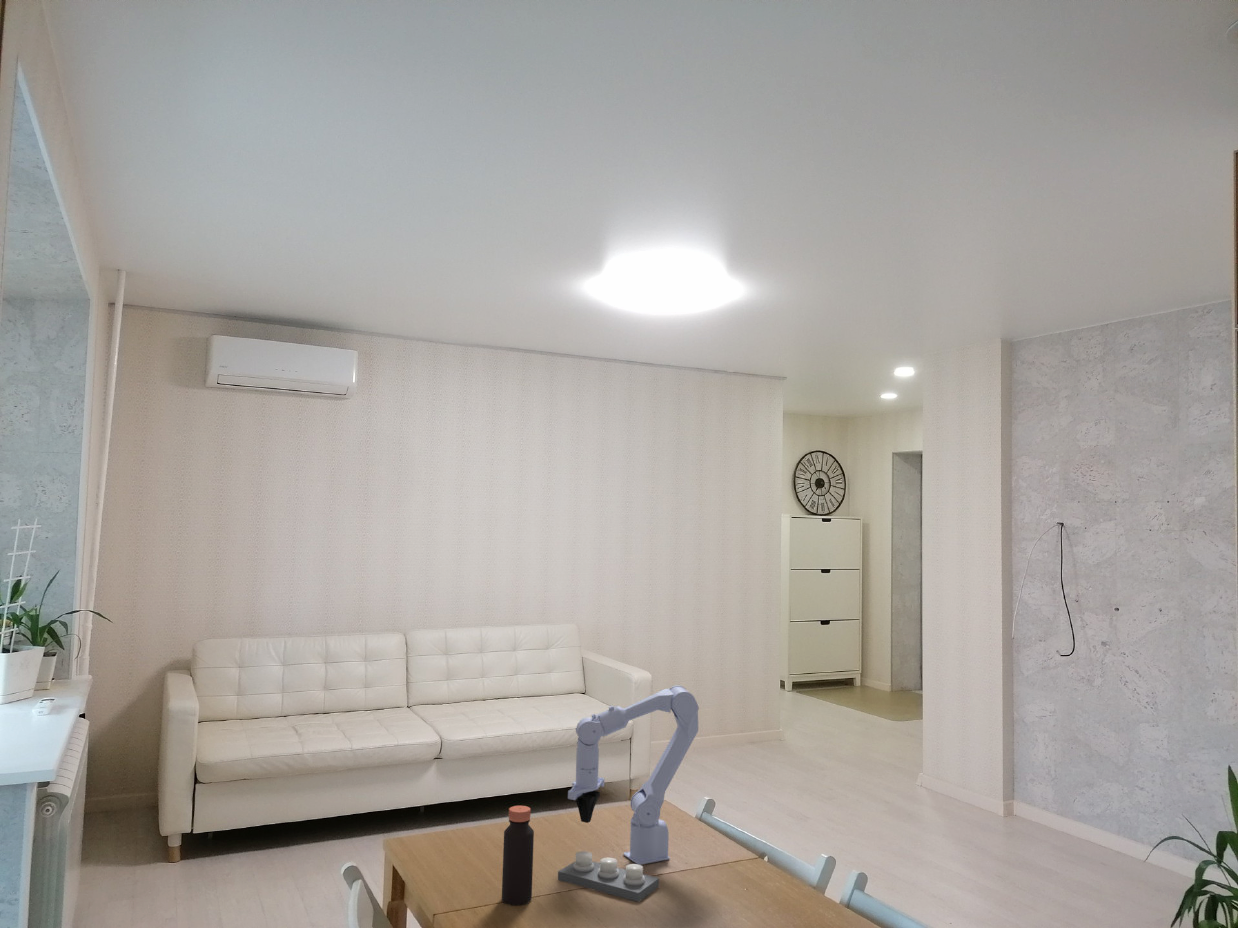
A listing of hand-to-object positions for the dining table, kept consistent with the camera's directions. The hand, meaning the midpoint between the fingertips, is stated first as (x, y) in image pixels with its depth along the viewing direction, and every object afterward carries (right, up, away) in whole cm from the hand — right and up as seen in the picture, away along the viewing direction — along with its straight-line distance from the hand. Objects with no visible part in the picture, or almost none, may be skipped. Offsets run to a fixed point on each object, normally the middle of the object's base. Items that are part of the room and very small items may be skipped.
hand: (585, 821), depth 223 cm
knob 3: (+12, -5, -18) cm, 23 cm away
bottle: (-15, -7, -26) cm, 30 cm away
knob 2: (+6, -5, -15) cm, 17 cm away
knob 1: (0, -5, -11) cm, 13 cm away
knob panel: (+6, -9, -15) cm, 18 cm away
